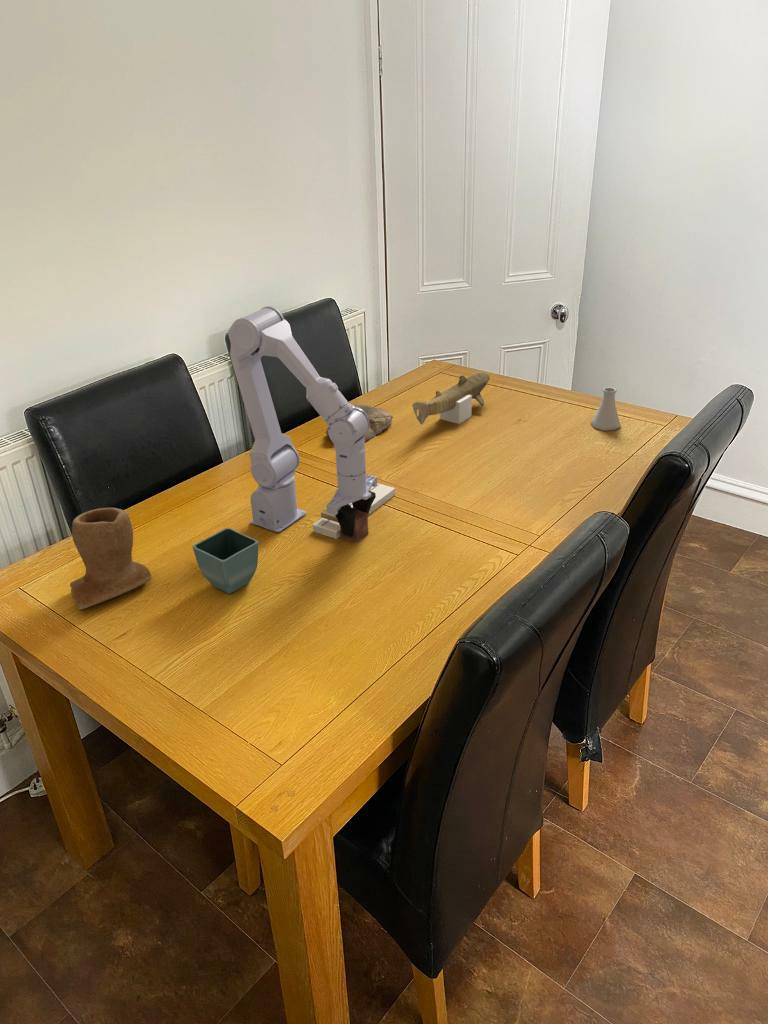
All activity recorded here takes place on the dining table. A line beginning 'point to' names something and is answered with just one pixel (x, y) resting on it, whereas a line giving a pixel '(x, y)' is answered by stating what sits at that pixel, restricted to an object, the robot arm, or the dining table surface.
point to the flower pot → (227, 559)
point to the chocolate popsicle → (359, 525)
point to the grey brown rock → (374, 420)
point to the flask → (607, 412)
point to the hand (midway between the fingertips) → (354, 529)
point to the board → (333, 527)
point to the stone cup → (105, 557)
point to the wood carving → (454, 400)
